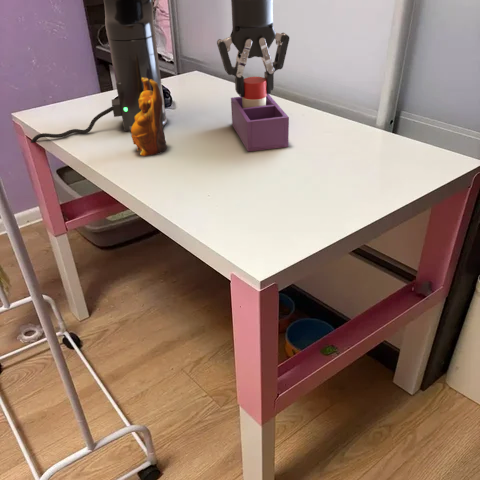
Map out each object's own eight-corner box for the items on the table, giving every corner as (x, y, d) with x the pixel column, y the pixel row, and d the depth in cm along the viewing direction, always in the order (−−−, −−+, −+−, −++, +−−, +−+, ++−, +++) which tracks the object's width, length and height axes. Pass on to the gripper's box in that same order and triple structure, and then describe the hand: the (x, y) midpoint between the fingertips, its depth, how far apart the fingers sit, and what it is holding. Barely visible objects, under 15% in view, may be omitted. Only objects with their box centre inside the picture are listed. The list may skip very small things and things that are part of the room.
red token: (245, 100, 100) (245, 84, 98) (240, 93, 104) (239, 78, 102) (269, 98, 101) (269, 82, 99) (263, 91, 104) (263, 75, 102)
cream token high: (245, 116, 102) (244, 101, 100) (240, 109, 105) (239, 94, 103) (268, 114, 102) (268, 98, 100) (262, 106, 106) (262, 91, 104)
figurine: (129, 151, 99) (116, 82, 91) (155, 141, 103) (146, 73, 95) (149, 160, 96) (138, 88, 88) (176, 149, 100) (168, 79, 91)
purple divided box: (248, 151, 97) (247, 122, 94) (232, 125, 109) (230, 97, 105) (288, 146, 98) (289, 117, 95) (268, 120, 110) (268, 93, 106)
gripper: (284, -12, 95) (283, 85, 106) (208, -6, 93) (216, 93, 104) (296, -7, 89) (294, 96, 100) (216, 1, 87) (223, 104, 98)
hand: (254, 94), depth 102 cm, fingers closed on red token, 4 cm apart
